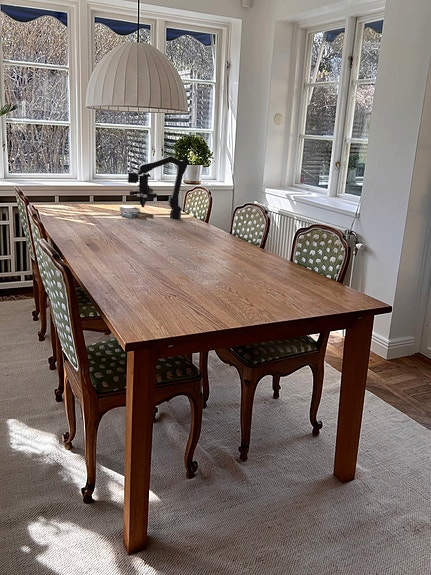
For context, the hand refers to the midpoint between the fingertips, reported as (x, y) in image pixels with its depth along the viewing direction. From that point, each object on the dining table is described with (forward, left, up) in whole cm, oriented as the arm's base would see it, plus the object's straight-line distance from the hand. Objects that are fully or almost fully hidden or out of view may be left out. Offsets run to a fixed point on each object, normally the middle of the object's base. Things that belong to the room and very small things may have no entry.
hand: (142, 207), depth 349 cm
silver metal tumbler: (+11, 0, -7) cm, 13 cm away
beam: (+6, 0, -7) cm, 9 cm away
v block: (+6, +7, -7) cm, 12 cm away
